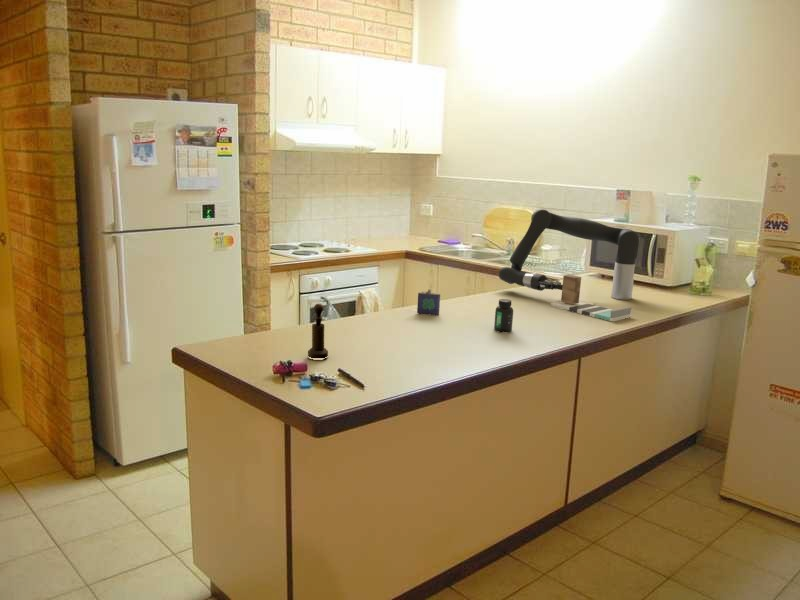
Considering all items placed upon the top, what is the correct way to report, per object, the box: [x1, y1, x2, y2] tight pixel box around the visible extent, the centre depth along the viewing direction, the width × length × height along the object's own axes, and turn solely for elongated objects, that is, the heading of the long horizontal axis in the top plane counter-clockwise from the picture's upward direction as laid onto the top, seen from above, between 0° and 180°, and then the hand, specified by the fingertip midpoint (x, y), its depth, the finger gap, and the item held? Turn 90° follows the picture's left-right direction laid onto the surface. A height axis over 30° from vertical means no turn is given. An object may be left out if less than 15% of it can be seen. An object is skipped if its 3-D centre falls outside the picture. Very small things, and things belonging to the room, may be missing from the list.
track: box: [550, 300, 632, 322], centre depth 304 cm, size 14×32×4 cm, turn 41°
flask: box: [416, 288, 441, 316], centre depth 285 cm, size 9×3×11 cm, turn 87°
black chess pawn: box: [307, 303, 329, 358], centre depth 221 cm, size 7×6×18 cm
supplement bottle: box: [493, 298, 514, 333], centre depth 265 cm, size 7×7×12 cm
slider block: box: [560, 274, 582, 304], centre depth 310 cm, size 5×6×12 cm
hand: (565, 288), depth 313 cm, fingers closed
